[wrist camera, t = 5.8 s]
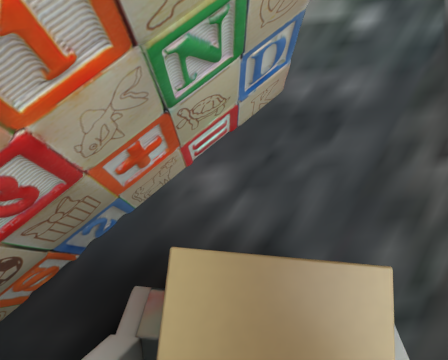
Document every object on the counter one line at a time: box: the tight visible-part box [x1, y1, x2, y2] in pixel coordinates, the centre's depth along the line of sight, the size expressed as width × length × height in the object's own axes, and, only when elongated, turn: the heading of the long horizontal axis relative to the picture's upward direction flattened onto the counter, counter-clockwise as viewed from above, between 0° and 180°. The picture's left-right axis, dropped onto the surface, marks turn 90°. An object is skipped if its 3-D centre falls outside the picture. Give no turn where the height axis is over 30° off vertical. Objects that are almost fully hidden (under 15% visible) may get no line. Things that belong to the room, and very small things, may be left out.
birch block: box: [156, 247, 395, 360], centre depth 10 cm, size 4×4×9 cm
